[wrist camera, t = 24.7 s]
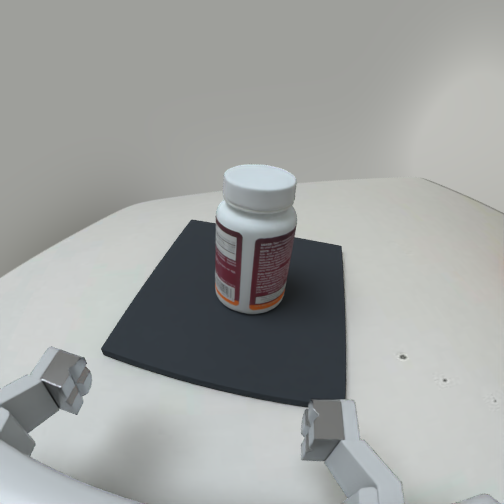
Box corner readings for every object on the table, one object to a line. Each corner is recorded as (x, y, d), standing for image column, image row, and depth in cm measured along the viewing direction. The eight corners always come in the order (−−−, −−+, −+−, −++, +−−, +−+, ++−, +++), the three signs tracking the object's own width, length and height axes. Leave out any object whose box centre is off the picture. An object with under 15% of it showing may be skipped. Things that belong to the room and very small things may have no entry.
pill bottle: (285, 275, 24) (303, 167, 19) (281, 321, 20) (305, 198, 15) (222, 266, 24) (226, 157, 19) (207, 309, 20) (207, 186, 15)
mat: (342, 411, 15) (345, 406, 15) (103, 354, 17) (100, 348, 16) (340, 251, 28) (341, 245, 28) (191, 224, 30) (191, 219, 29)
